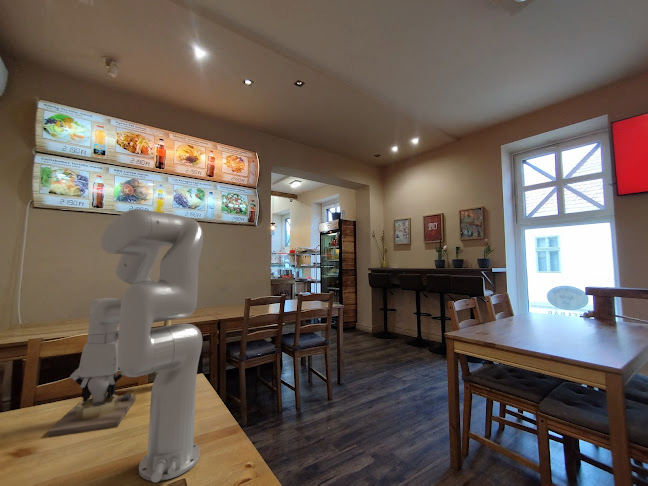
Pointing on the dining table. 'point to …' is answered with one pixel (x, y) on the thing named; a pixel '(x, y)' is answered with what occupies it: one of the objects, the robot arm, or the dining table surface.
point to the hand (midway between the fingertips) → (98, 397)
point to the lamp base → (92, 419)
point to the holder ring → (96, 408)
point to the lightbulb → (98, 389)
